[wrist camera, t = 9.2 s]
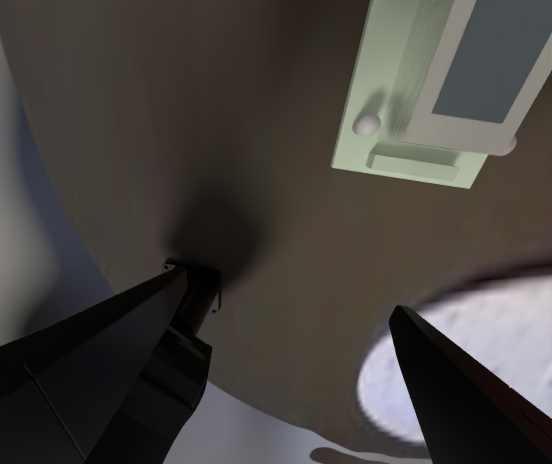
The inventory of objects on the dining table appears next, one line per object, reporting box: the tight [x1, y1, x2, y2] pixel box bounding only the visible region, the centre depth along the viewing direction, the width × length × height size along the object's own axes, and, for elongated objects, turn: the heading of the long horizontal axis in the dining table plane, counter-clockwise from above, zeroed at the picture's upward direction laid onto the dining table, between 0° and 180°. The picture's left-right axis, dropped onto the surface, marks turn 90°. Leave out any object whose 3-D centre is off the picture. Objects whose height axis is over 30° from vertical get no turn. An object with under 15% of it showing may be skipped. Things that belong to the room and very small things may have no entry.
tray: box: [330, 0, 517, 189], centre depth 13 cm, size 14×11×4 cm
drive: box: [376, 0, 552, 156], centre depth 12 cm, size 9×6×5 cm, turn 172°
